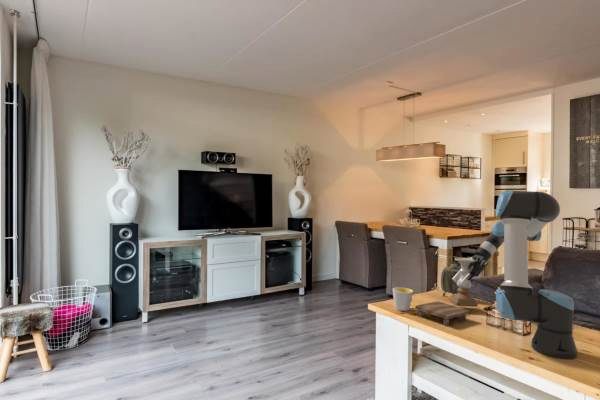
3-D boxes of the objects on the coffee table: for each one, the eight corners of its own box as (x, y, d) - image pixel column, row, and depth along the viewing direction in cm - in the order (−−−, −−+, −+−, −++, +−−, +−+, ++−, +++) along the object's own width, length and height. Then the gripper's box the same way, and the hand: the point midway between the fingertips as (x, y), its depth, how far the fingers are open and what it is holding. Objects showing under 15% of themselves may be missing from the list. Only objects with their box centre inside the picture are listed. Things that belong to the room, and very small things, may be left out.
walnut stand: (469, 320, 183) (469, 310, 183) (447, 327, 173) (447, 316, 173) (437, 310, 198) (437, 301, 198) (415, 315, 187) (415, 305, 187)
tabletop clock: (466, 298, 224) (468, 256, 224) (466, 302, 216) (468, 258, 216) (440, 294, 230) (442, 254, 230) (439, 298, 222) (441, 256, 221)
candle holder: (478, 306, 195) (479, 261, 195) (456, 305, 196) (458, 260, 195) (469, 301, 206) (470, 257, 206) (448, 300, 207) (450, 256, 206)
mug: (402, 313, 190) (403, 293, 190) (387, 308, 199) (388, 288, 198) (420, 310, 197) (421, 290, 197) (405, 304, 206) (406, 285, 206)
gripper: (502, 259, 195) (475, 291, 191) (476, 253, 214) (450, 282, 210) (494, 249, 194) (466, 281, 190) (469, 244, 213) (442, 273, 209)
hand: (458, 282), depth 200 cm, fingers closed on candle holder, 6 cm apart
